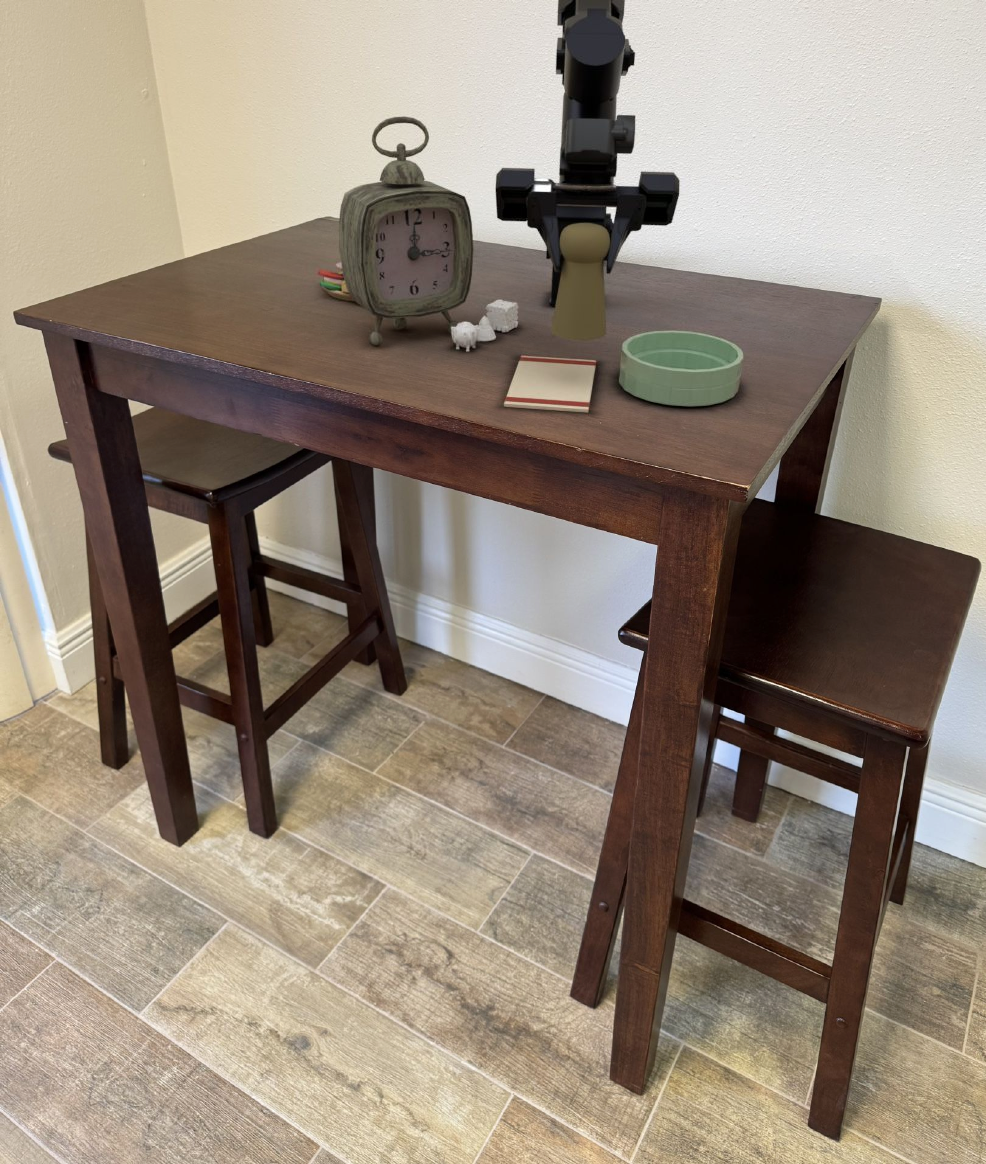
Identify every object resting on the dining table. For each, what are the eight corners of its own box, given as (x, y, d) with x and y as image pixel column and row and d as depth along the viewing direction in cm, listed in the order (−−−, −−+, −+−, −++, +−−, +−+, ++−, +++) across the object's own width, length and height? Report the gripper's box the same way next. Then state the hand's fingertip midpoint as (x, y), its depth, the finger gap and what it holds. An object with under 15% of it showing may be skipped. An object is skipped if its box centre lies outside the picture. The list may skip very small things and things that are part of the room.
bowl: (616, 404, 101) (620, 366, 99) (620, 361, 112) (624, 327, 110) (741, 412, 100) (747, 375, 97) (733, 369, 111) (738, 334, 108)
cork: (591, 344, 98) (599, 235, 92) (540, 333, 100) (545, 226, 94) (616, 328, 102) (625, 222, 96) (567, 318, 105) (573, 215, 99)
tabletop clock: (366, 352, 114) (352, 124, 100) (340, 330, 120) (324, 114, 107) (473, 335, 119) (473, 118, 106) (443, 315, 126) (440, 108, 112)
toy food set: (366, 311, 127) (364, 286, 125) (298, 292, 134) (296, 269, 132) (430, 289, 136) (429, 266, 134) (364, 273, 143) (362, 251, 141)
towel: (503, 406, 100) (503, 402, 100) (520, 358, 113) (521, 355, 112) (588, 412, 99) (588, 408, 99) (596, 363, 112) (596, 359, 111)
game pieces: (497, 323, 124) (497, 298, 122) (518, 327, 122) (519, 302, 120) (447, 349, 115) (446, 323, 113) (470, 354, 114) (470, 328, 112)
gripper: (498, 79, 92) (489, 223, 89) (689, 83, 91) (687, 229, 88) (501, 152, 103) (493, 283, 100) (672, 156, 102) (669, 288, 99)
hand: (582, 270), depth 96 cm, fingers closed on cork, 5 cm apart
